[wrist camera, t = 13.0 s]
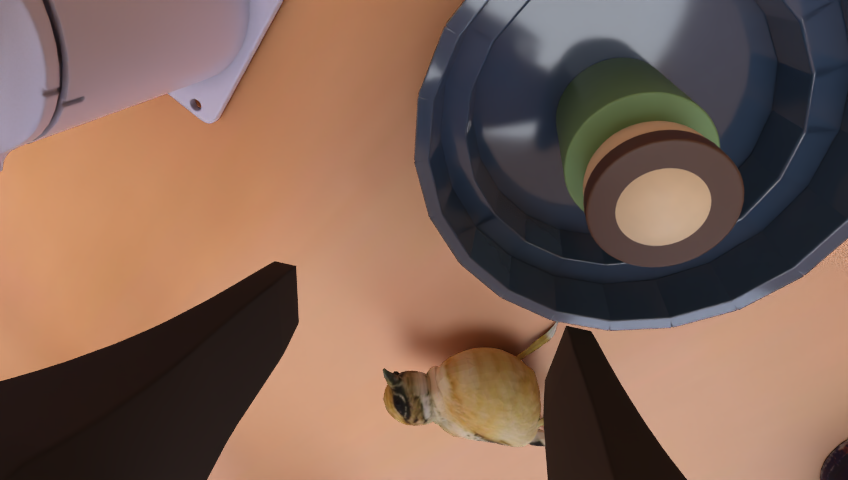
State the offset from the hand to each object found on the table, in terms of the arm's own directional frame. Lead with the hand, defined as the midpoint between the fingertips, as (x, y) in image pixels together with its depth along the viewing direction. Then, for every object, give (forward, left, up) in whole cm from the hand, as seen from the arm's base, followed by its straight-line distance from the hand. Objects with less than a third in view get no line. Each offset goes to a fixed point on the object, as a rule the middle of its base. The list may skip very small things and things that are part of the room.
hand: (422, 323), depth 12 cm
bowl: (+2, +6, -9) cm, 11 cm away
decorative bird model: (+10, -8, -10) cm, 16 cm away
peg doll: (+2, +6, -9) cm, 11 cm away
